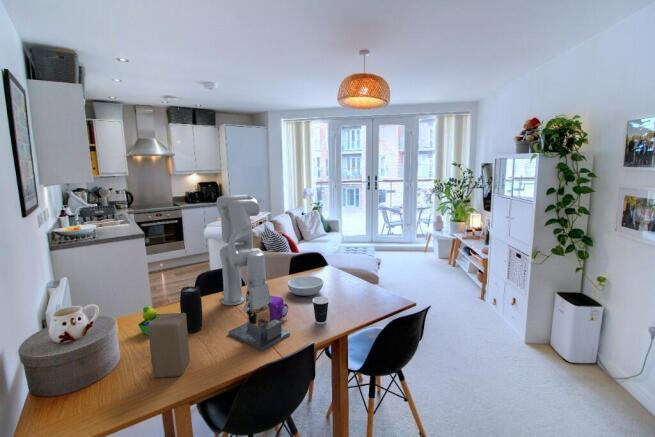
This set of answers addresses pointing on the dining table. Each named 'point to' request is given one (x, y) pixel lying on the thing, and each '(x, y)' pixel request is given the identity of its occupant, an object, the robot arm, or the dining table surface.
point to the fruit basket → (147, 319)
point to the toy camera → (277, 308)
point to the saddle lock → (260, 315)
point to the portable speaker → (191, 307)
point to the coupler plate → (257, 337)
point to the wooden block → (169, 344)
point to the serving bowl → (305, 285)
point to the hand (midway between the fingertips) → (258, 320)
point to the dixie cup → (320, 309)
